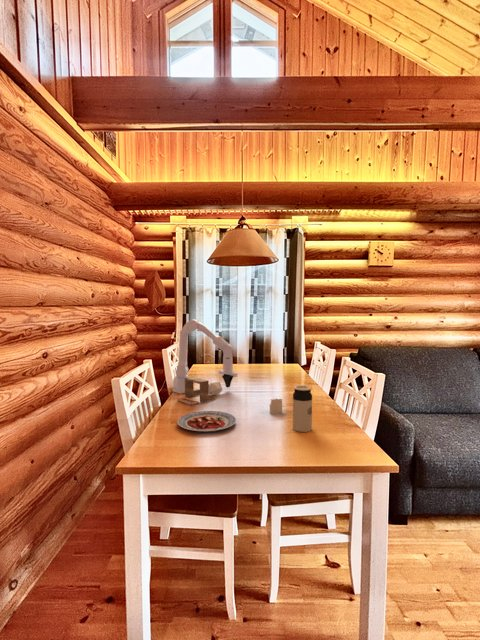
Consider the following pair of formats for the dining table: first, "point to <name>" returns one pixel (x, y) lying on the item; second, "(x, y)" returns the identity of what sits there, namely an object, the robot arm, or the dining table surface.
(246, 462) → the dining table surface
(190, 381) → the tunnel lane
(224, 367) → the robot arm
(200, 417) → the ceramic plate
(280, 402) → the architectural model
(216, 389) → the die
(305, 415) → the travel mug
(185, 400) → the trap pit
